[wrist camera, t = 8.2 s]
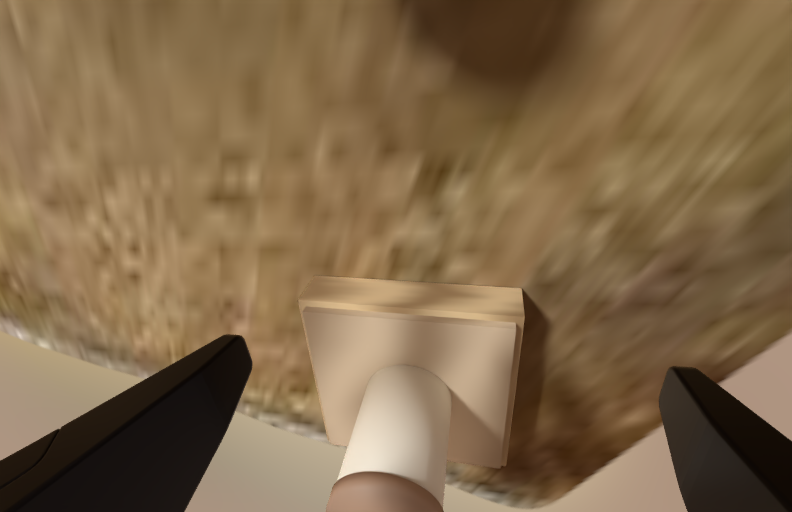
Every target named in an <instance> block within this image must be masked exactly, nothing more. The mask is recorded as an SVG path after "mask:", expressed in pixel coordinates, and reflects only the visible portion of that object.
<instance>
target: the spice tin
mask: <svg viewBox="0 0 792 512" xmlns="http://www.w3.org/2000/svg"><path fill="white" fill-rule="evenodd" d="M451 406H452V397H451V393H450V391H449V389H448V387H447V386H446V384H445V383H444V382H443V381H442V380H441V379H440V378H438V377H437V376H436V375H434V374H433V373H431V372H429V371H427V370H424V369H422V368H419V367H415V366H409V365H394V366H389V367H385V368H383V369H380V370H379V371H377V372H376V373H375V374H373V375H372V377H371V378H370V380H369V382H368V385H367V388H366V391H365V394H364V397H363V401H362V404H361V407H360V410H359V413H358V416H357V420H356V423H355V426H354V429H353V432H352V435H351V439H350V442H349V445H348V448H347V451H346V455H345V457H344V461H343V464H342V467H341V470H340V473H339V477H338V480H337V482H336V483H335V484H334V486H333V488H332V491H331V494H330V498H329V501H328V504H327V507H326V512H444V511H443V497H444V487H445V475H446V464H447V452H448V441H449V429H450V417H451Z"/></svg>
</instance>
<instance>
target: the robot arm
mask: <svg viewBox="0 0 792 512" xmlns="http://www.w3.org/2000/svg"><path fill="white" fill-rule="evenodd" d="M251 370H252V359H251V356H250V353H249V350H248V348H247V345H246V342H245V339H244V338H243V337H242V336H240V335H230V334H227V335H223V336H221V337H219V338H218V339H216V340H214V341H212V342H211V343H209V344H207V345H205V346H203V347H202V348H200V349H198V350H196V351H195V352H193V353H191V354H189V355H188V356H186V357H184V358H182V359H180V360H179V361H177V362H175V363H173V364H172V365H170V366H168V367H166V368H165V369H163V370H161V371H159V372H157V373H156V374H154V375H152V376H150V377H149V378H147V379H145V380H143V381H142V382H140V383H138V384H136V385H135V386H133V387H131V388H129V389H127V390H126V391H124V392H122V393H120V394H119V395H117V396H115V397H113V398H112V399H110V400H108V401H106V402H104V403H103V404H101V405H99V406H97V407H96V408H94V409H92V410H90V411H89V412H87V413H85V414H83V415H81V416H80V417H78V418H76V419H74V420H73V421H71V422H69V423H67V424H66V425H64V426H62V427H61V429H57V430H55V431H53V432H51V433H50V434H48V435H46V436H44V437H43V438H41V439H39V440H37V441H36V442H34V443H32V444H30V445H28V446H26V447H25V448H23V449H21V450H19V451H17V452H16V453H14V454H12V455H10V456H8V457H6V458H5V459H3V460H1V461H0V512H184V511H185V510H186V508H187V506H188V504H189V502H190V500H191V498H192V496H193V494H194V492H195V491H196V489H197V487H198V485H199V483H200V481H201V479H202V477H203V475H204V473H205V471H206V470H207V468H208V466H209V464H210V462H211V460H212V458H213V456H214V454H215V453H216V451H217V449H218V447H219V445H220V443H221V441H222V439H223V437H224V435H225V433H226V431H227V429H228V427H229V424H230V422H231V420H232V417H233V415H234V412H235V410H236V408H237V405H238V403H239V400H240V398H241V395H242V393H243V390H244V388H245V385H246V383H247V381H248V378H249V376H250V373H251ZM659 408H660V412H661V417H662V421H663V425H664V429H665V433H666V437H667V441H668V445H669V449H670V453H671V457H672V461H673V465H674V469H675V473H676V477H677V481H678V485H679V488H680V491H681V494H682V497H683V500H684V503H685V506H686V509H687V511H688V512H792V441H791V440H789V439H788V438H787V437H785V436H784V435H783V434H781V433H780V432H779V431H778V430H776V429H775V428H774V427H772V426H771V425H770V424H768V423H767V422H766V421H765V420H763V419H762V418H761V417H759V416H758V415H757V414H755V413H754V412H753V411H752V410H750V409H749V408H748V407H746V406H745V405H744V404H742V403H741V402H740V401H739V400H737V399H736V398H735V397H733V396H732V395H731V394H729V393H728V392H727V391H725V390H724V389H723V388H722V387H720V386H719V385H718V384H716V383H715V382H714V381H712V380H711V379H710V378H709V377H707V376H706V375H705V374H703V373H702V372H701V371H699V370H698V369H696V368H692V367H678V366H673V367H670V368H669V369H668V371H667V374H666V377H665V380H664V383H663V386H662V389H661V393H660V396H659Z"/></svg>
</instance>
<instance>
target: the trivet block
mask: <svg viewBox="0 0 792 512" xmlns="http://www.w3.org/2000/svg"><path fill="white" fill-rule="evenodd" d="M298 303H299V308H300V312H301V317H302V321H303V326H304V331H305V335H306V340H307V345H308V349H309V354H310V359H311V363H312V368H313V373H314V377H315V382H316V387H317V391H318V396H319V400H320V405H321V410H322V414H323V419H324V424H325V428H326V433H327V438H328V440H329V441H330V444H335V445H342V446H348V445H349V442H350V439H351V435H352V432H353V429H354V426H355V423H356V420H357V416H358V413H359V410H360V407H361V404H362V401H363V397H364V394H365V391H366V388H367V385H368V382H369V380H370V378H371V377H372V375H373V374H375V373H376V372H377V371H379V370H380V369H383V368H385V367H389V366H394V365H409V366H415V367H419V368H422V369H424V370H427V371H429V372H431V373H433V374H434V375H436V376H437V377H438V378H440V379H441V380H442V381H443V382H444V383H445V384H446V386H447V387H448V389H449V391H450V393H451V397H452V406H451V417H450V429H449V441H448V452H447V461H450V462H457V463H464V464H471V465H477V466H484V467H491V468H498V469H500V467H501V466H506V463H507V455H508V447H509V439H510V431H511V423H512V415H513V407H514V399H515V391H516V383H517V375H518V368H519V360H520V352H521V344H522V336H523V328H524V320H525V314H524V305H523V297H522V288H507V287H491V286H475V285H459V284H443V283H426V282H410V281H394V280H378V279H362V278H346V277H330V276H314V277H313V278H312V280H311V281H310V283H309V284H308V286H307V287H306V289H305V290H304V292H303V293H302V294H301V296H300V297H299V299H298Z"/></svg>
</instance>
